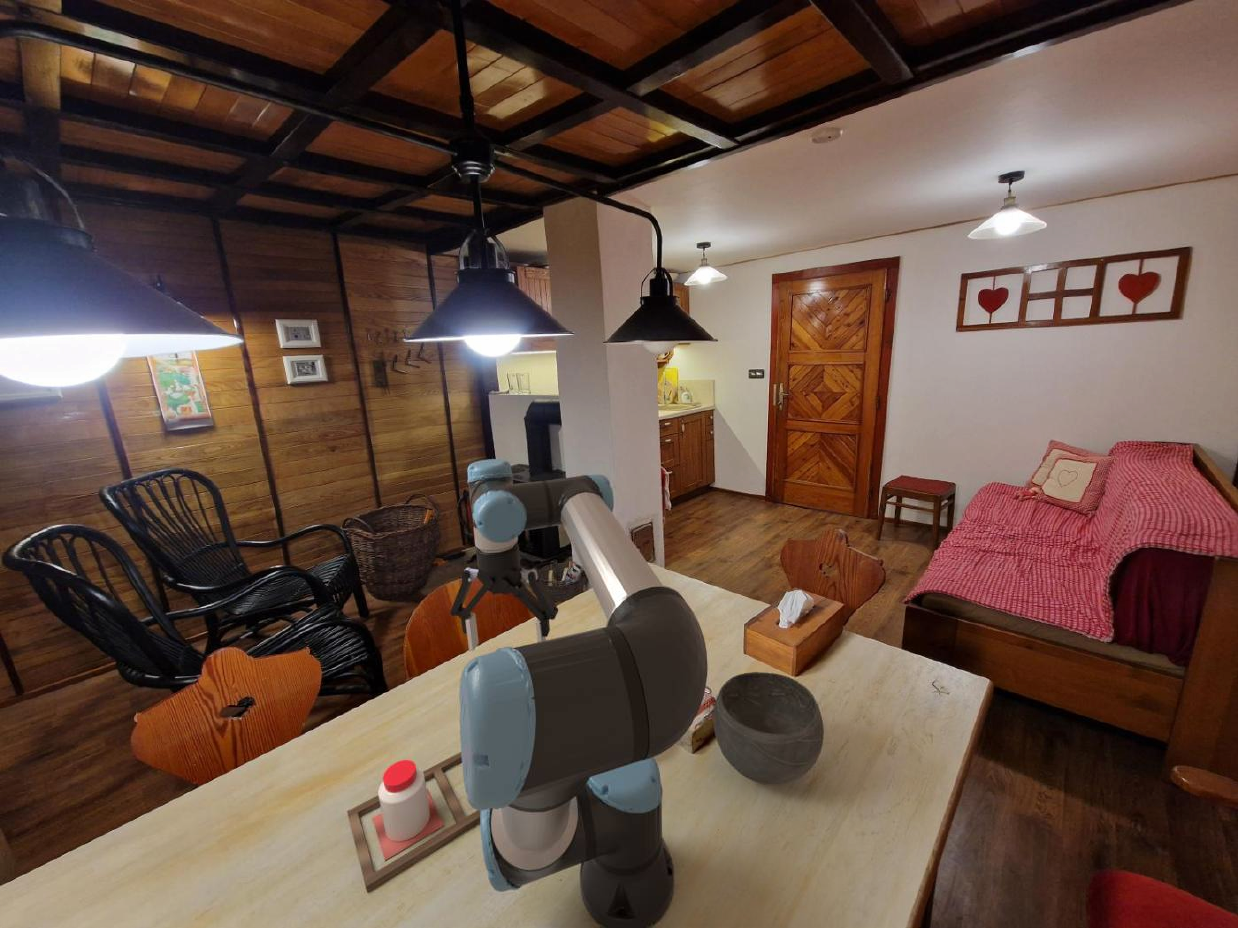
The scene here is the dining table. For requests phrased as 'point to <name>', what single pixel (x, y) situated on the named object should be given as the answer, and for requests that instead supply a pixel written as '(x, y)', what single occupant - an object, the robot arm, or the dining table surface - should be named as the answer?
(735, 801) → the dining table surface
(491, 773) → the robot arm
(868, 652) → the dining table surface
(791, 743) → the bowl
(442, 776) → the divided wooden frame
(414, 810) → the pill bottle
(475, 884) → the dining table surface
